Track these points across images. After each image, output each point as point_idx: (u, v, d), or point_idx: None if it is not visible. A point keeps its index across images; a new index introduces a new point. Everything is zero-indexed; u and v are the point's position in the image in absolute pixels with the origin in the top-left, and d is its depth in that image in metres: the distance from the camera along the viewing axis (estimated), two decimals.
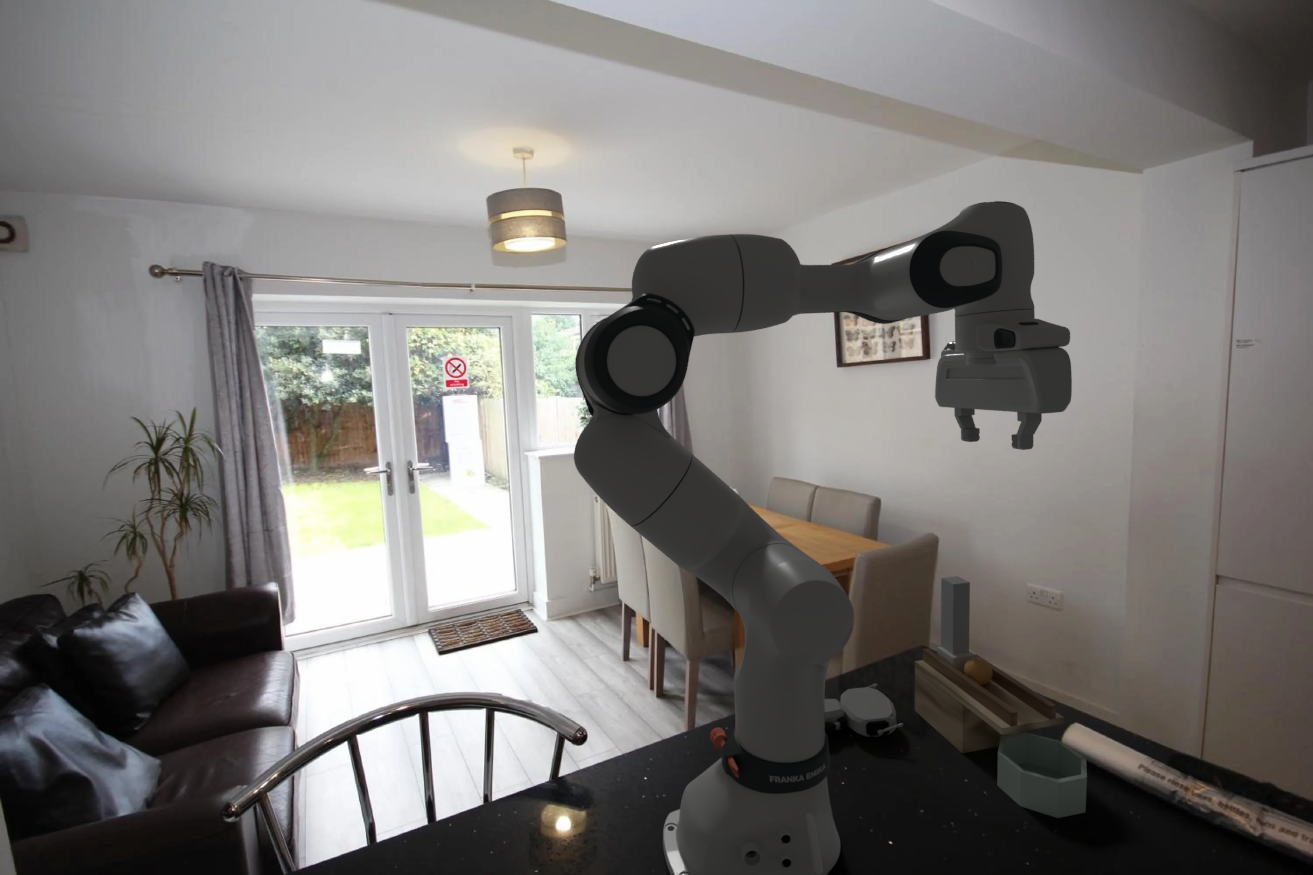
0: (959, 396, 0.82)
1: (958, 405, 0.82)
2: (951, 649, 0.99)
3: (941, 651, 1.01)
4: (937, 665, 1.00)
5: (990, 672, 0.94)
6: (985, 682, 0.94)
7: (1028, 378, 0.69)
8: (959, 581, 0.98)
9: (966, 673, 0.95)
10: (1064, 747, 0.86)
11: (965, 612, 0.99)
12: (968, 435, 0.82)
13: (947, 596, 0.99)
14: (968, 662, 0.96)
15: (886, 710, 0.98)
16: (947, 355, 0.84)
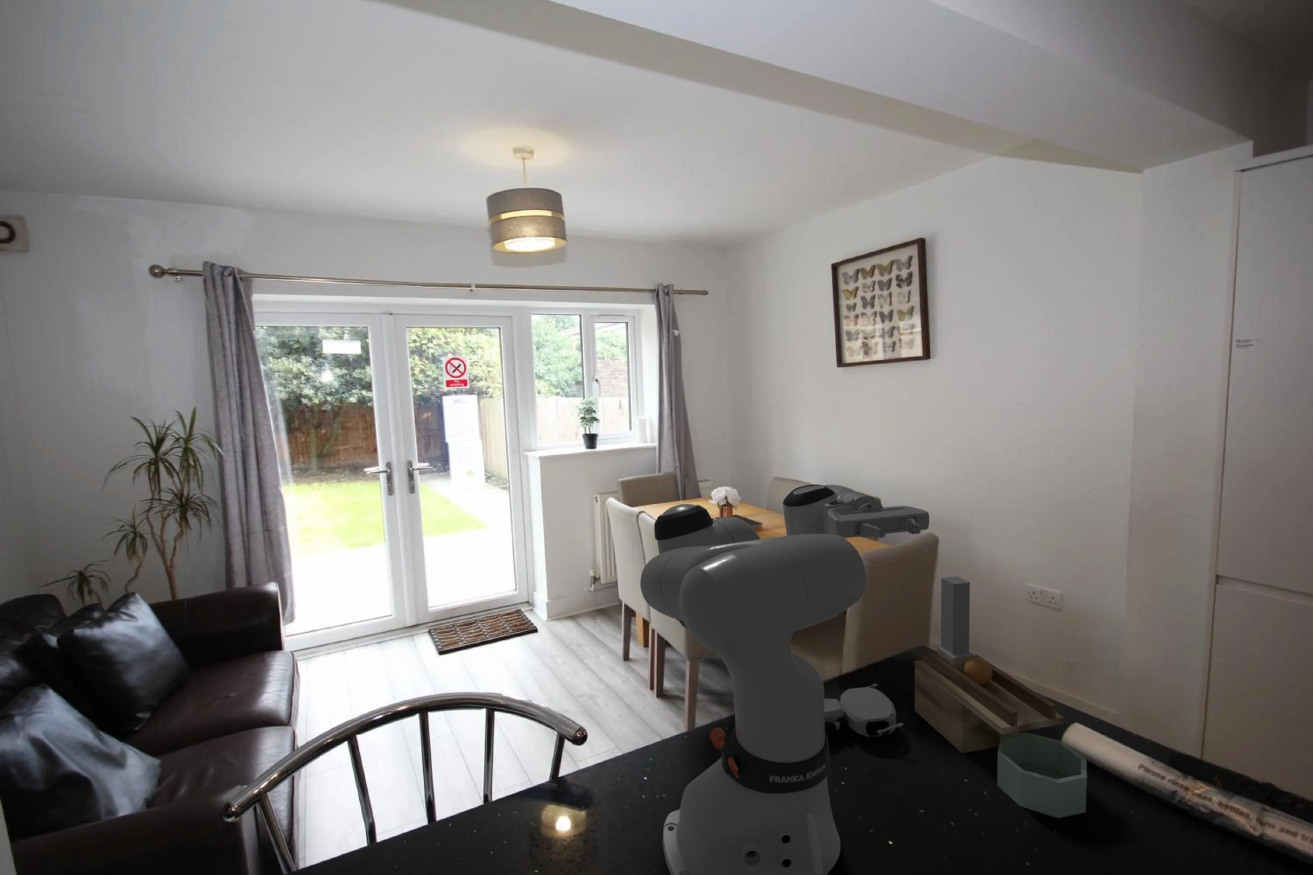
0: None
1: None
2: (951, 649, 0.99)
3: (941, 651, 1.01)
4: (937, 665, 1.00)
5: (990, 672, 0.94)
6: (985, 682, 0.94)
7: None
8: (959, 581, 0.98)
9: (966, 673, 0.95)
10: (1064, 747, 0.86)
11: (965, 612, 0.99)
12: (911, 532, 1.16)
13: (947, 596, 0.99)
14: (968, 662, 0.96)
15: (886, 710, 0.98)
16: None
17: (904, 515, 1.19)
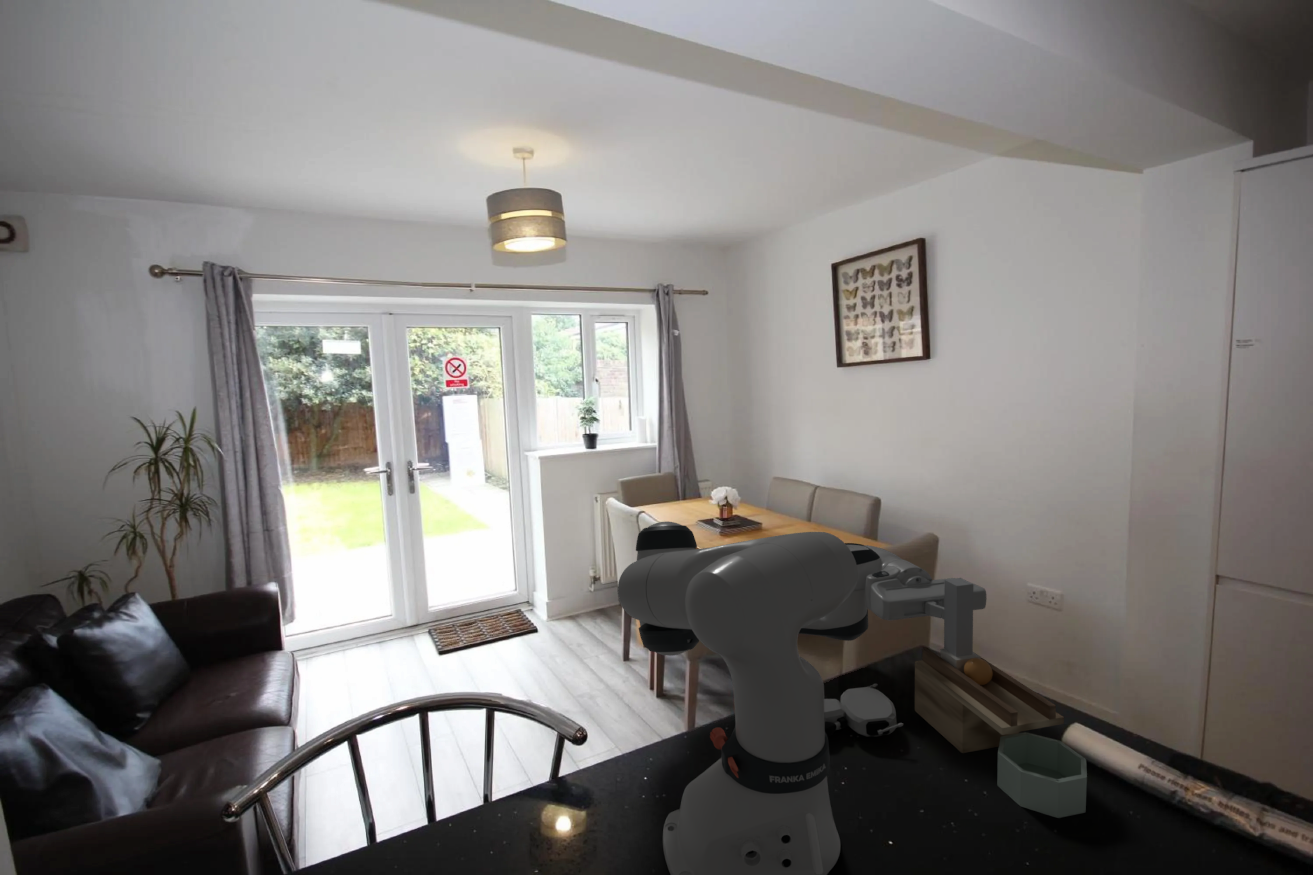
0: None
1: None
2: (954, 651, 0.98)
3: (944, 653, 1.00)
4: (937, 665, 1.00)
5: (990, 672, 0.94)
6: (985, 682, 0.94)
7: None
8: (962, 583, 0.98)
9: (966, 673, 0.95)
10: (1064, 747, 0.86)
11: (969, 614, 0.98)
12: None
13: (950, 598, 0.98)
14: (968, 662, 0.96)
15: (886, 710, 0.98)
16: None
17: None
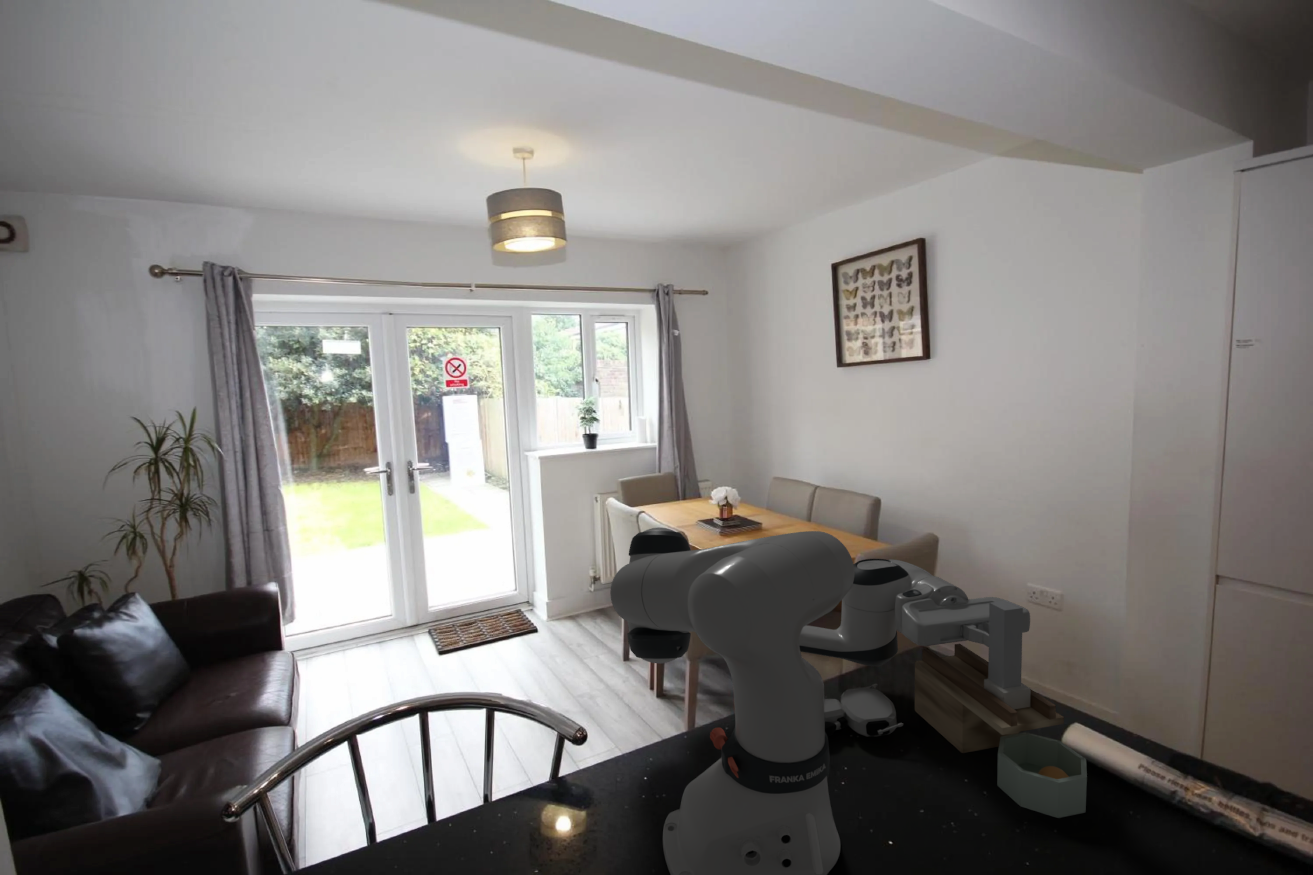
0: None
1: None
2: (1001, 683, 0.88)
3: (989, 684, 0.90)
4: (937, 665, 1.00)
5: None
6: None
7: None
8: (1010, 607, 0.88)
9: None
10: (1064, 747, 0.86)
11: (1017, 641, 0.88)
12: None
13: (997, 623, 0.89)
14: None
15: (886, 710, 0.98)
16: None
17: None
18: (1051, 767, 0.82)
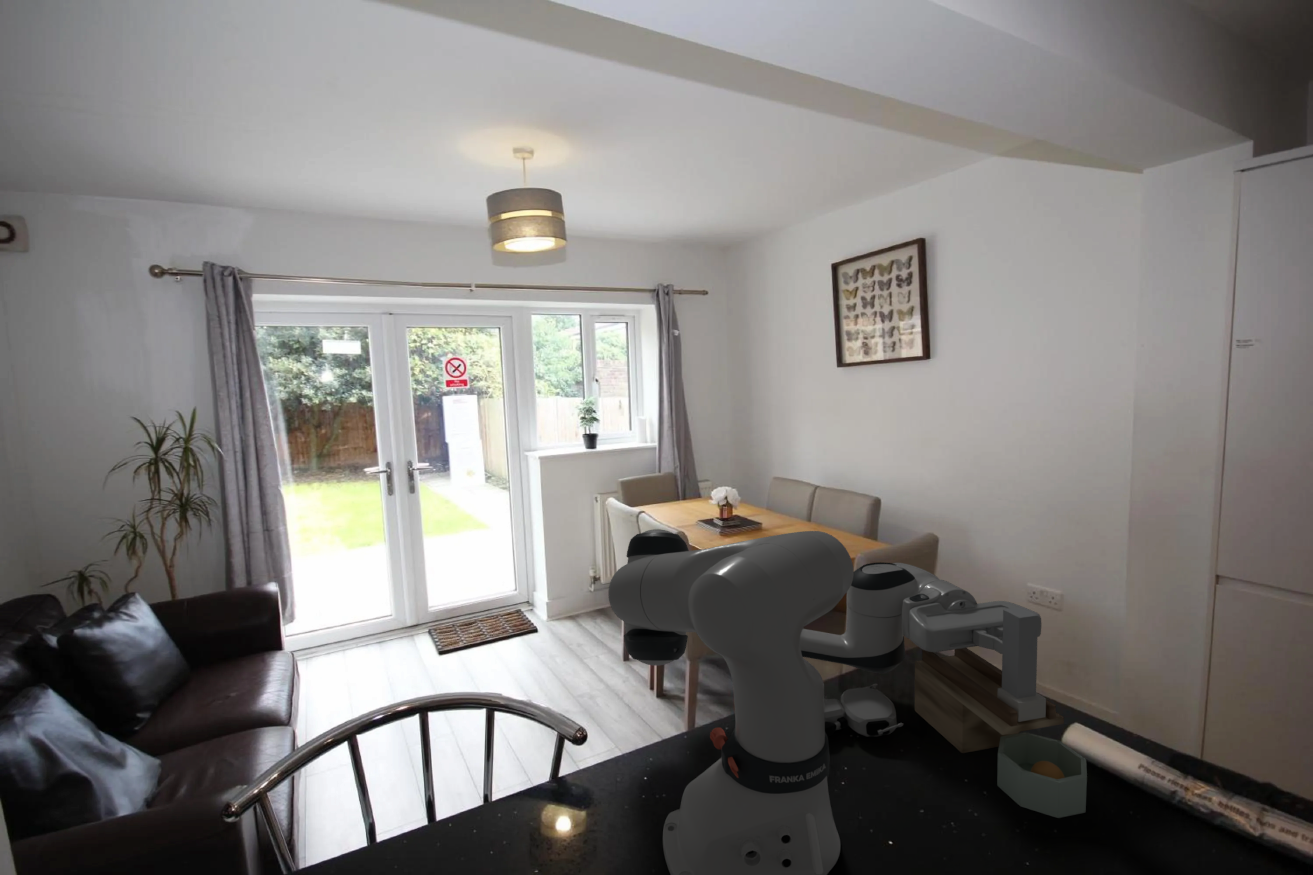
0: None
1: None
2: (1015, 692, 0.86)
3: (1002, 694, 0.87)
4: (937, 665, 1.00)
5: None
6: None
7: None
8: (1025, 614, 0.85)
9: None
10: (1064, 747, 0.86)
11: (1032, 650, 0.85)
12: None
13: (1011, 631, 0.86)
14: None
15: (886, 710, 0.98)
16: None
17: None
18: (1039, 761, 0.84)
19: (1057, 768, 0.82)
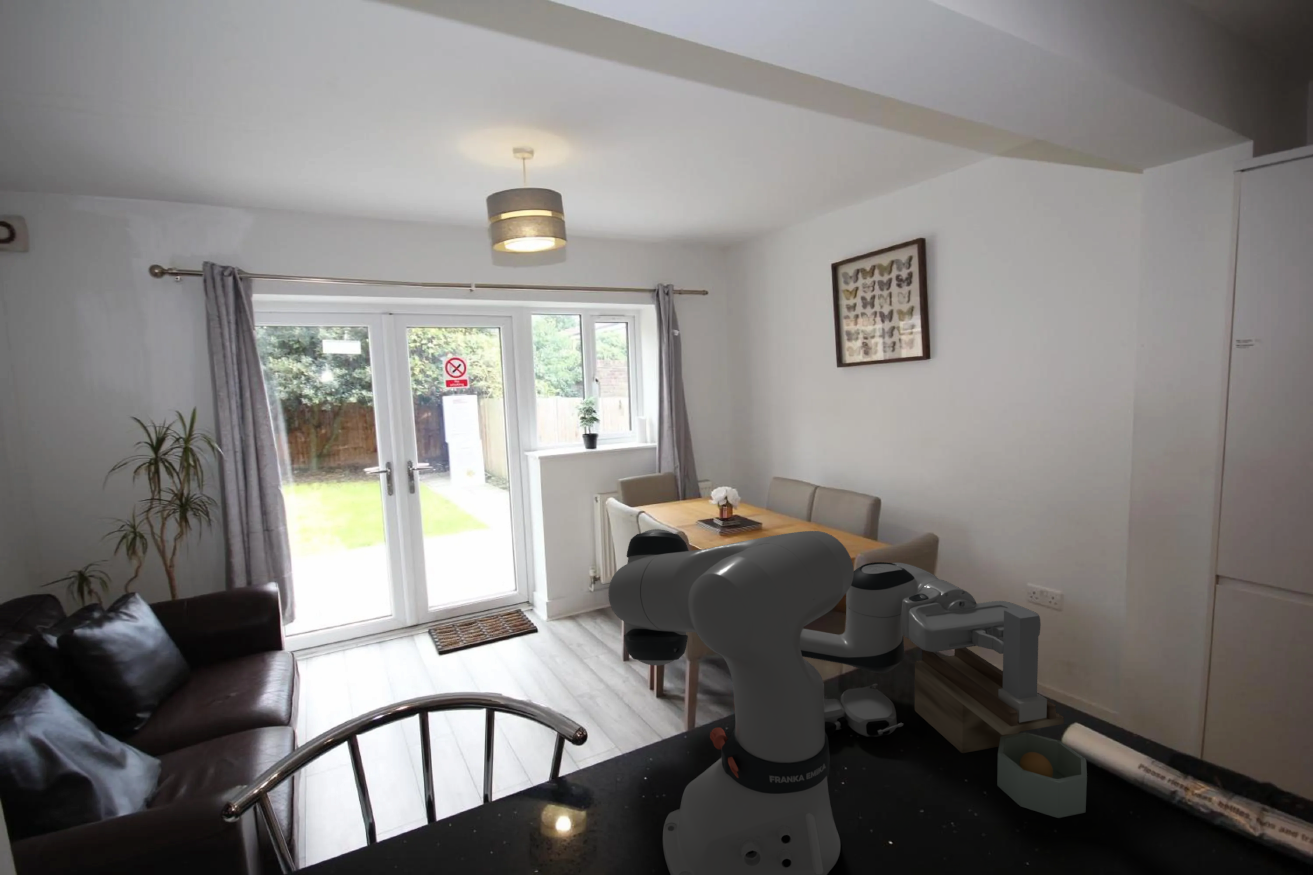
0: None
1: None
2: (1016, 693, 0.86)
3: (1003, 695, 0.87)
4: (937, 665, 1.00)
5: (1051, 775, 0.83)
6: None
7: None
8: (1026, 615, 0.85)
9: None
10: (1064, 747, 0.86)
11: (1033, 650, 0.85)
12: None
13: (1012, 631, 0.86)
14: (1028, 759, 0.85)
15: (886, 710, 0.98)
16: None
17: None
18: None
19: (1035, 752, 0.86)
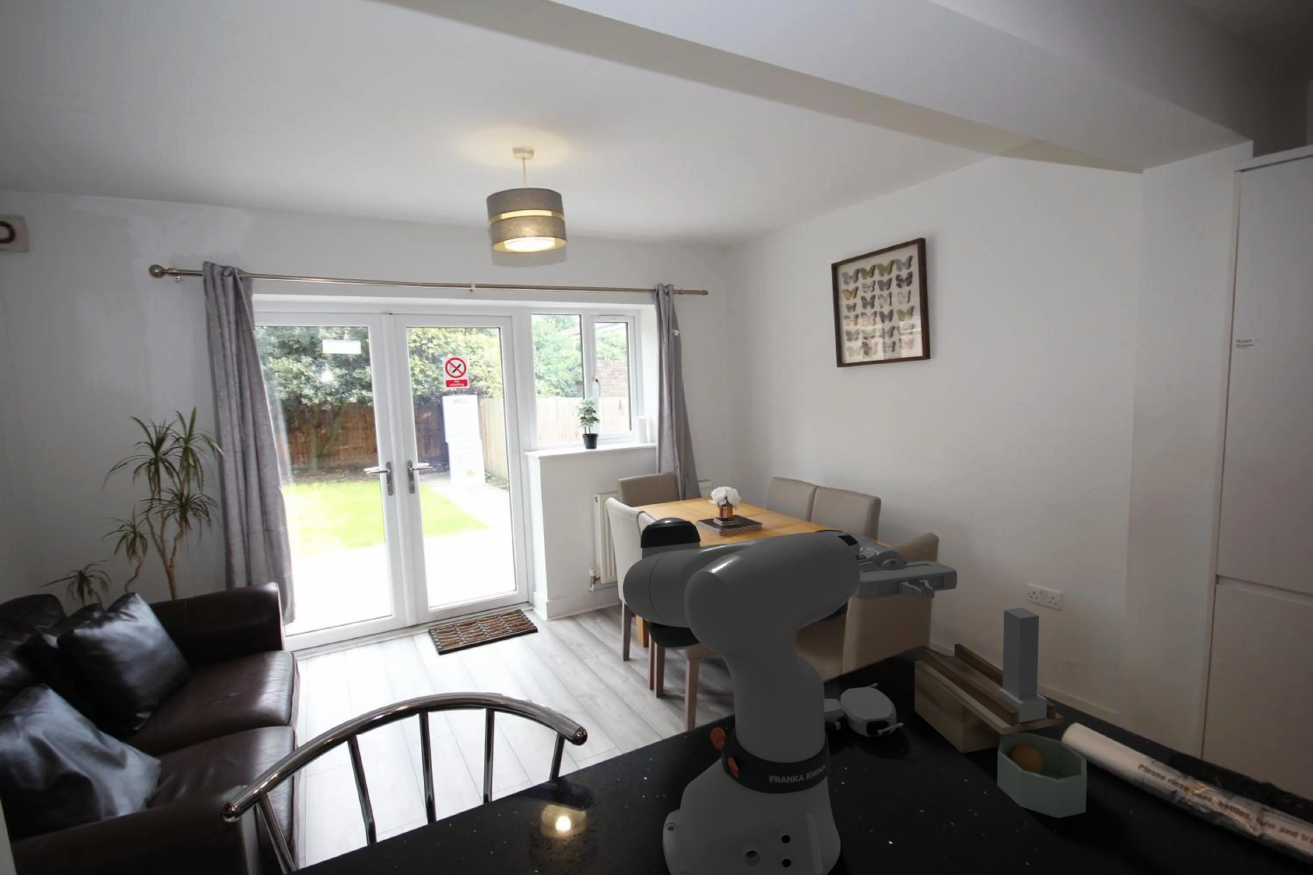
0: None
1: None
2: (1016, 693, 0.86)
3: (1003, 695, 0.87)
4: (937, 665, 1.00)
5: (1039, 757, 0.85)
6: (1037, 770, 0.85)
7: None
8: (1026, 615, 0.85)
9: None
10: (1064, 747, 0.86)
11: (1033, 650, 0.85)
12: None
13: (1012, 631, 0.86)
14: (1013, 750, 0.87)
15: (886, 710, 0.98)
16: None
17: (930, 574, 1.12)
18: None
19: None
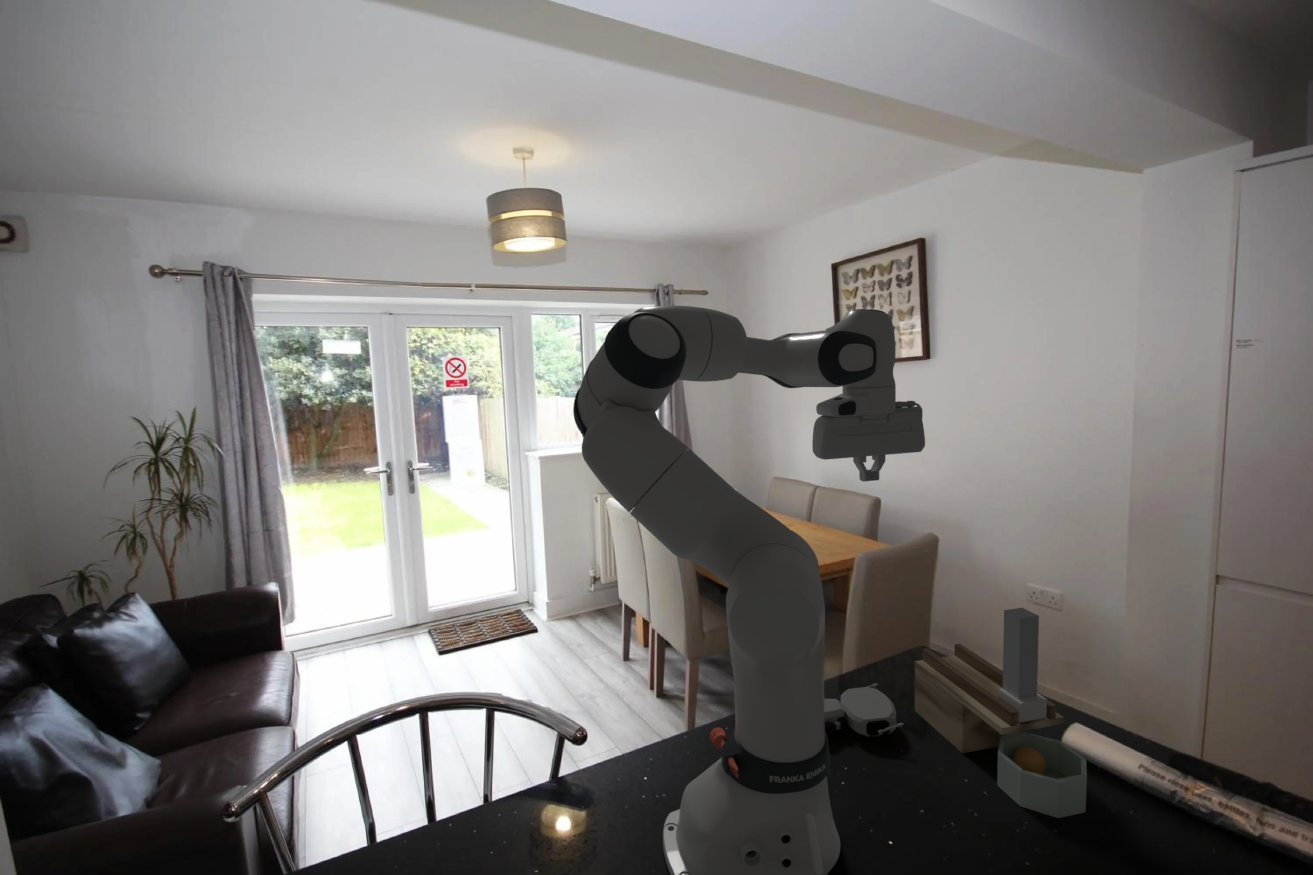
0: None
1: None
2: (1016, 693, 0.86)
3: (1003, 695, 0.87)
4: (937, 665, 1.00)
5: (1043, 762, 0.85)
6: None
7: None
8: (1026, 615, 0.85)
9: None
10: (1064, 747, 0.86)
11: (1033, 650, 0.85)
12: None
13: (1012, 631, 0.86)
14: (1016, 752, 0.87)
15: (886, 710, 0.98)
16: None
17: (895, 453, 1.07)
18: None
19: None
